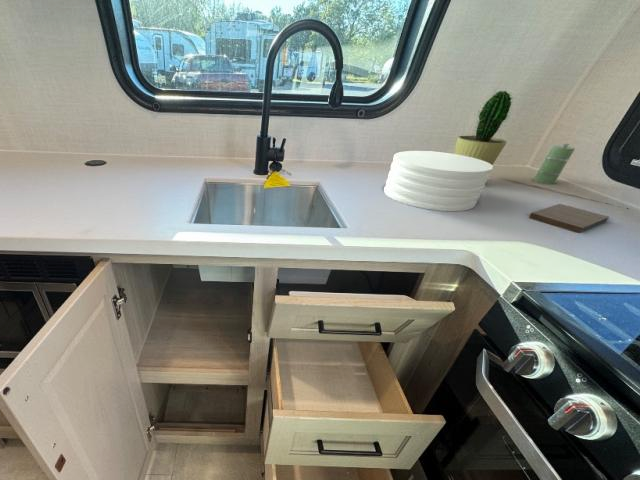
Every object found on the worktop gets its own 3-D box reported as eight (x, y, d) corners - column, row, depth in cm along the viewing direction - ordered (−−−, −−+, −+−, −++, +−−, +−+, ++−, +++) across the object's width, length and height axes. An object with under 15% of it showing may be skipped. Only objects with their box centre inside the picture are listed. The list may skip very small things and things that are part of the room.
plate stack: (496, 207, 99) (516, 169, 92) (423, 214, 92) (439, 174, 86) (430, 181, 121) (442, 149, 114) (367, 186, 114) (376, 152, 107)
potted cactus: (438, 173, 131) (471, 86, 113) (479, 177, 128) (520, 88, 110) (446, 184, 119) (485, 88, 101) (492, 188, 116) (541, 90, 98)
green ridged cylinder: (554, 183, 123) (579, 143, 114) (552, 187, 119) (577, 146, 110) (533, 180, 126) (555, 141, 118) (530, 183, 123) (552, 143, 114)
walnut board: (556, 208, 100) (559, 203, 99) (605, 221, 91) (609, 216, 90) (528, 217, 92) (531, 212, 92) (579, 233, 84) (582, 227, 83)
